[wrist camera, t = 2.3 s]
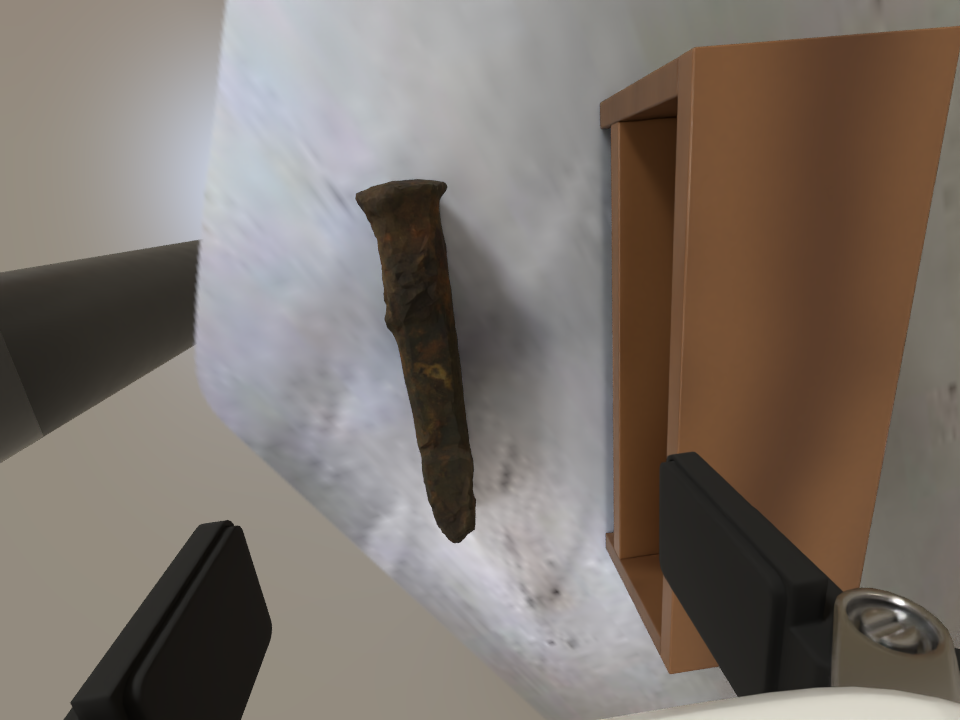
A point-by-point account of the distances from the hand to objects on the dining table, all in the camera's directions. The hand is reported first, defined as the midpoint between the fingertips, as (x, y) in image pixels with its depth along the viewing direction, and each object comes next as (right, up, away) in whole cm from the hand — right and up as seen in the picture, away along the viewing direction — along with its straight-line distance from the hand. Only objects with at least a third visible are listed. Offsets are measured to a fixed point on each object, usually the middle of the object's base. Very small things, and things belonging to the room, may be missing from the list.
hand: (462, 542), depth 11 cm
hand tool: (-2, +4, +16) cm, 17 cm away
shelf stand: (+12, +5, +17) cm, 21 cm away
